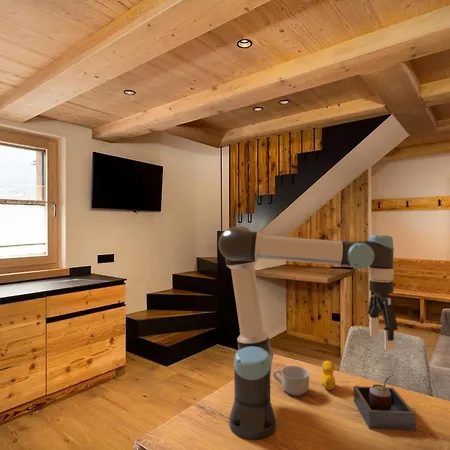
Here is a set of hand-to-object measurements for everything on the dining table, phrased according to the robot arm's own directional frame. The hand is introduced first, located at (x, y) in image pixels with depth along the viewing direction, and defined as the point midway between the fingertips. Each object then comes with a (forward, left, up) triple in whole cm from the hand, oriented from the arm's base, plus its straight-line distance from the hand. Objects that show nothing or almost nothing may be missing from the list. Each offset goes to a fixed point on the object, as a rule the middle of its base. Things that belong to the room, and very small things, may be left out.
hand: (381, 342), depth 115 cm
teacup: (-29, +14, -25) cm, 41 cm away
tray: (0, 0, -25) cm, 25 cm away
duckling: (-14, +18, -25) cm, 34 cm away
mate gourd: (0, 0, -24) cm, 24 cm away
